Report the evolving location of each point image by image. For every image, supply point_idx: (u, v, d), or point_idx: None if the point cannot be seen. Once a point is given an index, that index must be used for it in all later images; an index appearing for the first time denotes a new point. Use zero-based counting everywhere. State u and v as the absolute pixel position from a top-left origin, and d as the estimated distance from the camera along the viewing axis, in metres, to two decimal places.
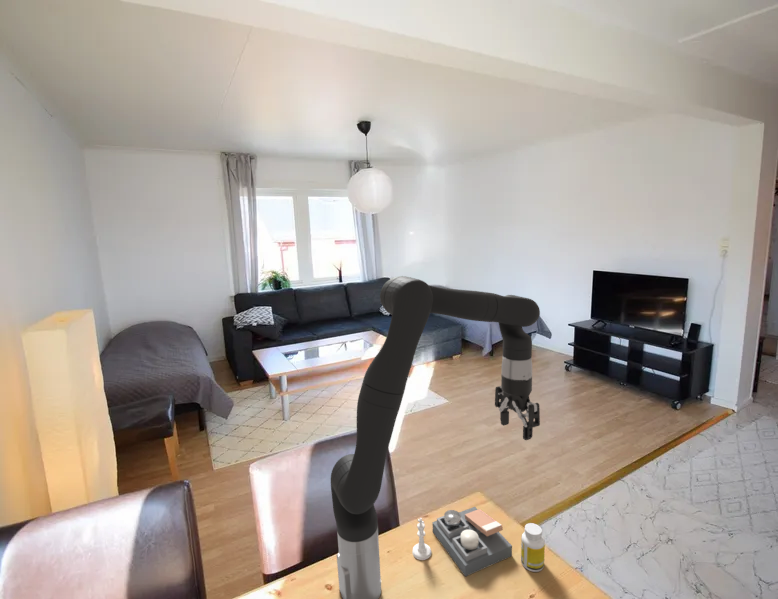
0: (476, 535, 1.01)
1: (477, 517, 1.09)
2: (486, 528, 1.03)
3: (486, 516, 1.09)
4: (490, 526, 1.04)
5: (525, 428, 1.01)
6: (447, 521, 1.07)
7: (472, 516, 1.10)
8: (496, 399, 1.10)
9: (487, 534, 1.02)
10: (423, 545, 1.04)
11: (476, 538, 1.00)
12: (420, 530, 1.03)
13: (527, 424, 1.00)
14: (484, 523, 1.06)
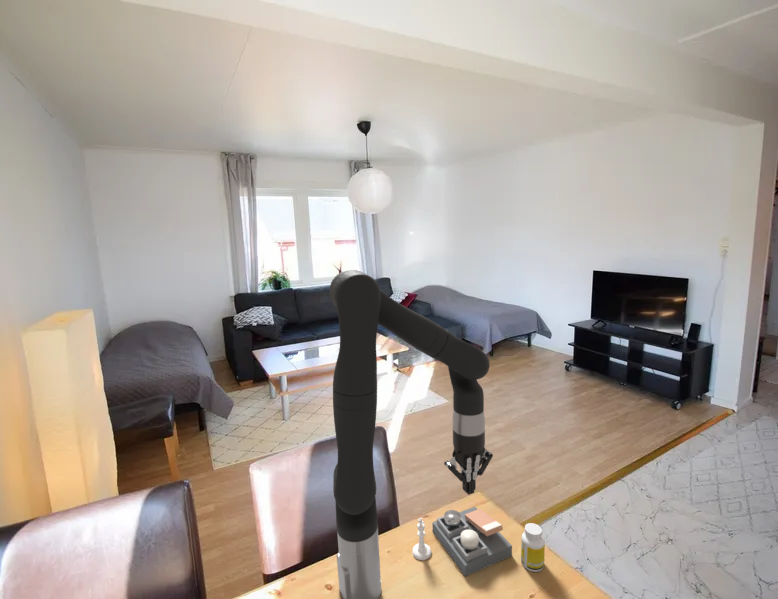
0: (476, 535, 1.01)
1: (477, 517, 1.09)
2: (486, 528, 1.03)
3: (486, 516, 1.09)
4: (490, 526, 1.04)
5: (473, 481, 0.98)
6: (447, 521, 1.07)
7: (472, 516, 1.10)
8: (458, 475, 0.95)
9: (487, 534, 1.02)
10: (423, 545, 1.04)
11: (476, 538, 1.00)
12: (420, 530, 1.03)
13: None
14: (484, 523, 1.06)
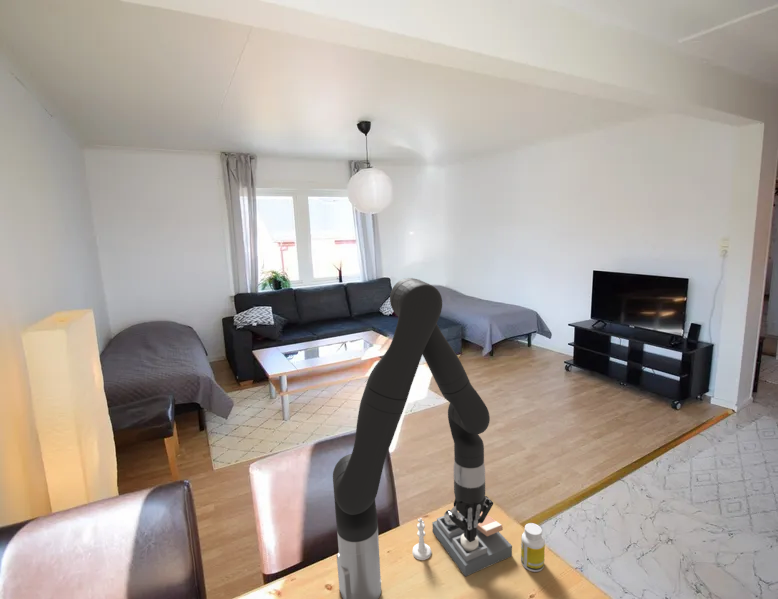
0: (476, 538, 1.01)
1: None
2: (486, 528, 1.03)
3: (486, 516, 1.09)
4: (490, 526, 1.04)
5: None
6: (447, 521, 1.07)
7: None
8: (460, 524, 0.97)
9: (487, 534, 1.02)
10: (423, 545, 1.04)
11: (476, 541, 1.00)
12: (420, 530, 1.03)
13: None
14: (484, 523, 1.06)
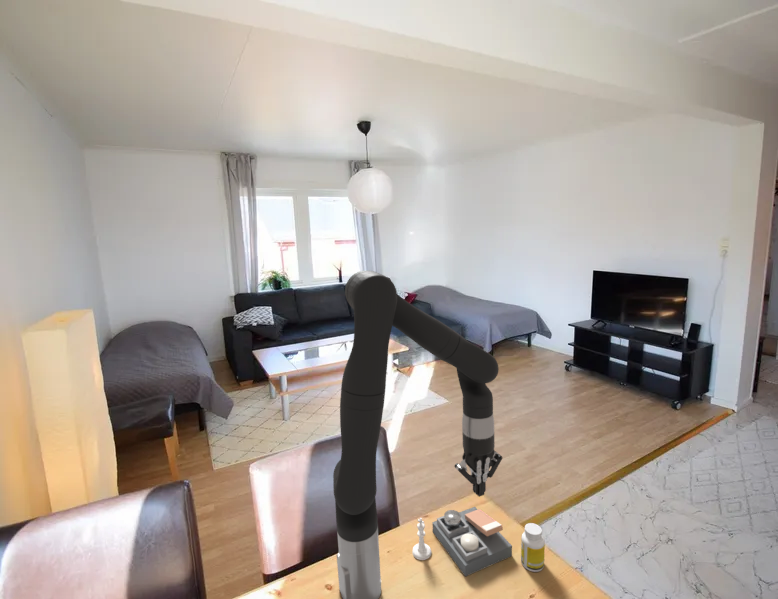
0: (476, 539, 1.01)
1: (477, 517, 1.09)
2: (486, 528, 1.03)
3: (486, 516, 1.09)
4: (490, 526, 1.04)
5: (483, 483, 0.99)
6: (447, 521, 1.07)
7: (472, 516, 1.10)
8: (469, 477, 0.96)
9: (487, 534, 1.02)
10: (423, 545, 1.04)
11: (476, 542, 1.00)
12: (420, 530, 1.03)
13: None
14: (484, 523, 1.06)
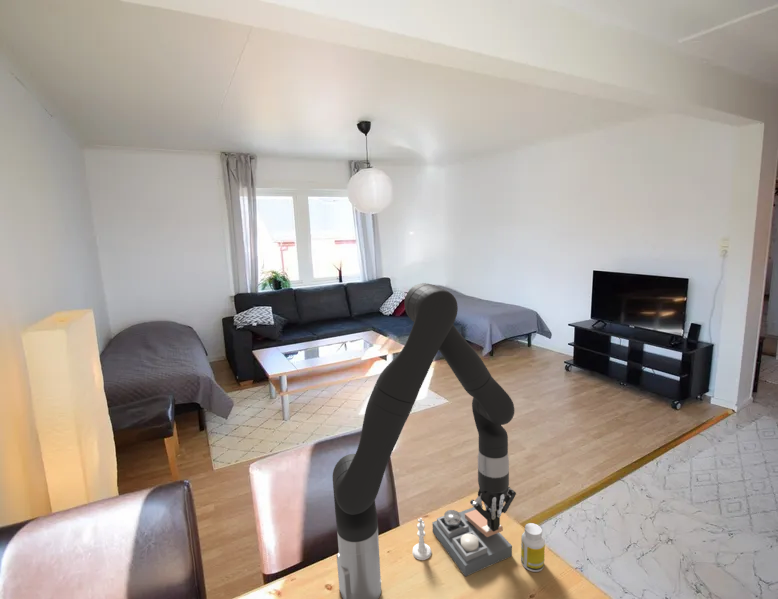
0: (476, 539, 1.01)
1: (477, 517, 1.09)
2: (486, 529, 1.03)
3: None
4: None
5: (497, 518, 1.02)
6: (447, 521, 1.07)
7: (472, 515, 1.10)
8: (484, 513, 1.00)
9: (487, 535, 1.02)
10: (423, 545, 1.04)
11: (476, 542, 1.00)
12: (420, 530, 1.03)
13: None
14: (484, 523, 1.06)
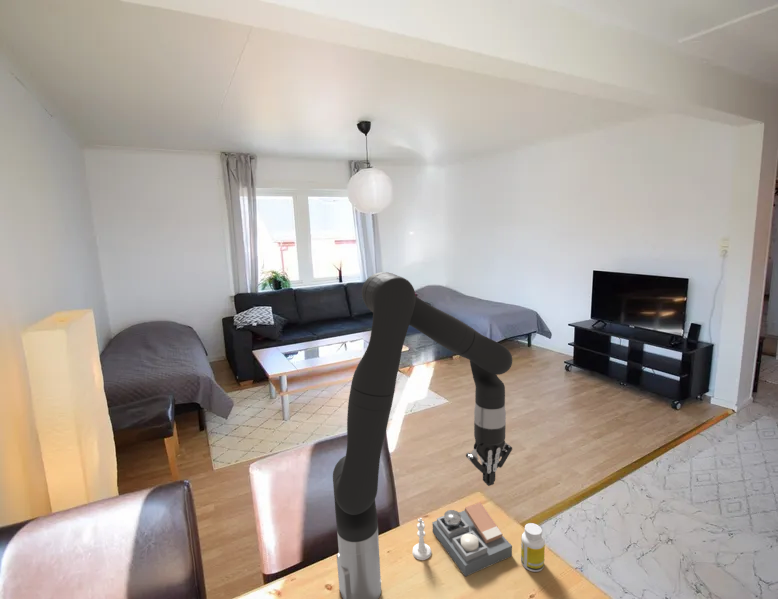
0: (476, 539, 1.01)
1: (478, 515, 1.08)
2: (487, 536, 1.03)
3: (487, 515, 1.09)
4: (491, 533, 1.04)
5: (493, 473, 1.01)
6: (447, 521, 1.07)
7: (473, 512, 1.09)
8: (480, 466, 0.99)
9: (487, 542, 1.03)
10: (423, 545, 1.04)
11: (476, 542, 1.00)
12: (420, 530, 1.03)
13: None
14: (485, 527, 1.06)
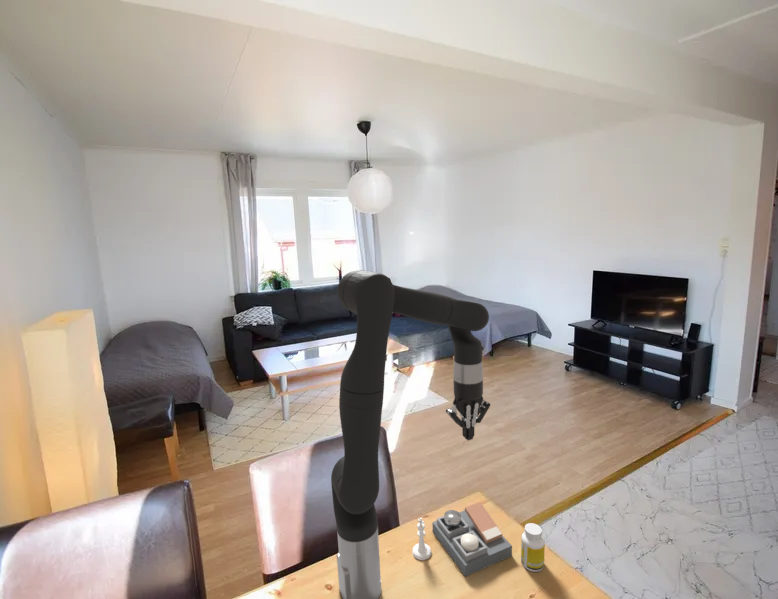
0: (476, 539, 1.01)
1: (478, 515, 1.08)
2: (487, 536, 1.03)
3: (487, 515, 1.09)
4: (491, 533, 1.04)
5: (472, 428, 1.06)
6: (447, 521, 1.07)
7: (473, 512, 1.09)
8: (459, 421, 1.04)
9: (486, 542, 1.03)
10: (423, 545, 1.04)
11: (476, 542, 1.00)
12: (420, 530, 1.03)
13: None
14: (485, 527, 1.06)
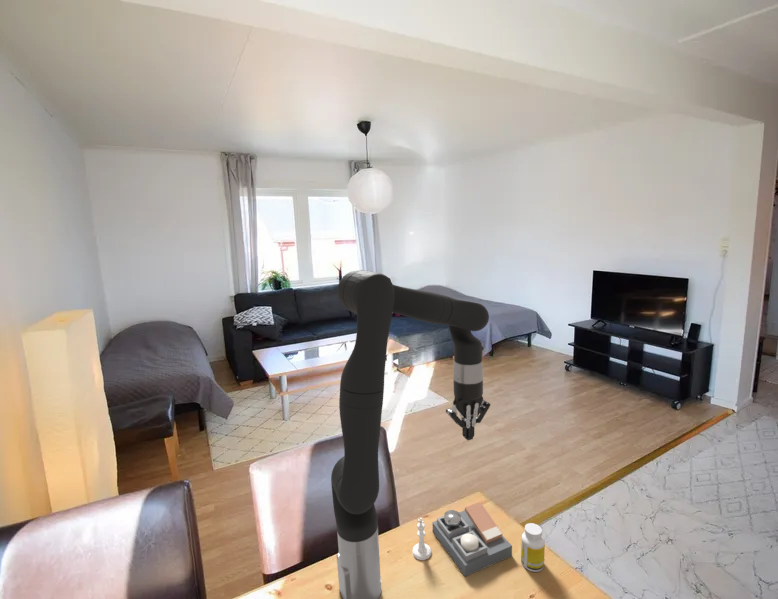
0: (476, 539, 1.01)
1: (478, 515, 1.08)
2: (487, 536, 1.03)
3: (487, 515, 1.09)
4: (491, 534, 1.04)
5: (472, 428, 1.06)
6: (447, 521, 1.07)
7: (473, 512, 1.09)
8: (459, 421, 1.04)
9: (486, 542, 1.03)
10: (423, 545, 1.04)
11: (476, 542, 1.00)
12: (420, 530, 1.03)
13: None
14: (485, 527, 1.06)
